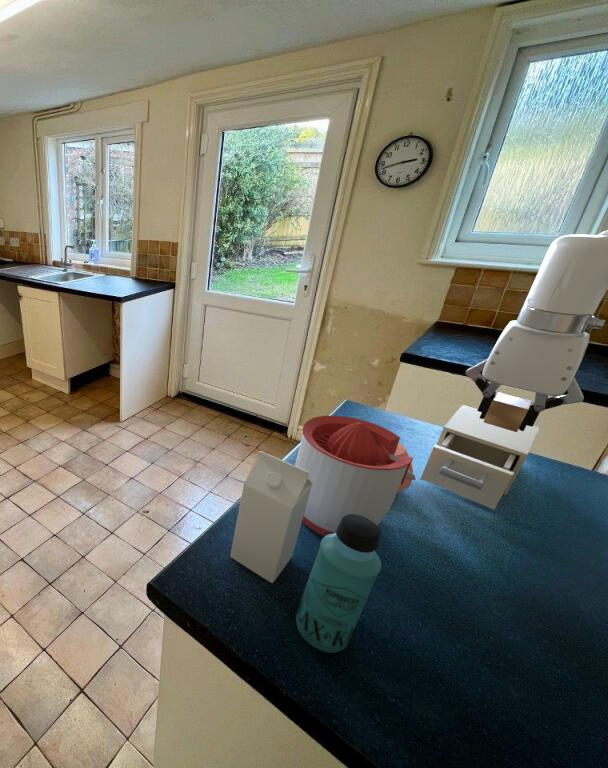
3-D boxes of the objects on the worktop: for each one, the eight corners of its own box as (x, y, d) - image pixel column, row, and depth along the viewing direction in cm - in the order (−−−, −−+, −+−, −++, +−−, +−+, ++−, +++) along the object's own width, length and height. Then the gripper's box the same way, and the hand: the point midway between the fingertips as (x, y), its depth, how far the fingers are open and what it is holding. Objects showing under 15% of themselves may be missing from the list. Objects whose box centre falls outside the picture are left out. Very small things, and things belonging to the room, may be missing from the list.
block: (521, 423, 71) (532, 401, 70) (516, 432, 69) (528, 409, 67) (488, 414, 74) (498, 392, 73) (482, 422, 72) (493, 399, 70)
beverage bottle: (286, 611, 58) (318, 501, 50) (336, 617, 57) (378, 506, 49) (300, 659, 52) (340, 543, 44) (356, 666, 52) (408, 550, 43)
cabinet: (505, 495, 80) (528, 454, 76) (427, 465, 88) (443, 426, 84) (519, 465, 88) (540, 427, 84) (446, 440, 97) (462, 404, 93)
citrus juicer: (406, 565, 65) (453, 461, 57) (287, 540, 70) (314, 441, 61) (377, 500, 79) (411, 408, 70) (279, 483, 83) (300, 394, 75)
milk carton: (250, 533, 71) (270, 441, 63) (292, 557, 67) (319, 461, 58) (229, 557, 67) (247, 461, 58) (272, 584, 62) (298, 484, 54)
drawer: (487, 524, 72) (506, 489, 68) (410, 491, 80) (424, 457, 76) (508, 479, 83) (526, 446, 79) (439, 453, 91) (452, 423, 87)
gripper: (636, 328, 60) (574, 434, 68) (486, 305, 72) (448, 398, 80) (636, 339, 56) (569, 451, 64) (476, 313, 67) (436, 410, 75)
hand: (502, 421), depth 72 cm, fingers closed on block, 4 cm apart
